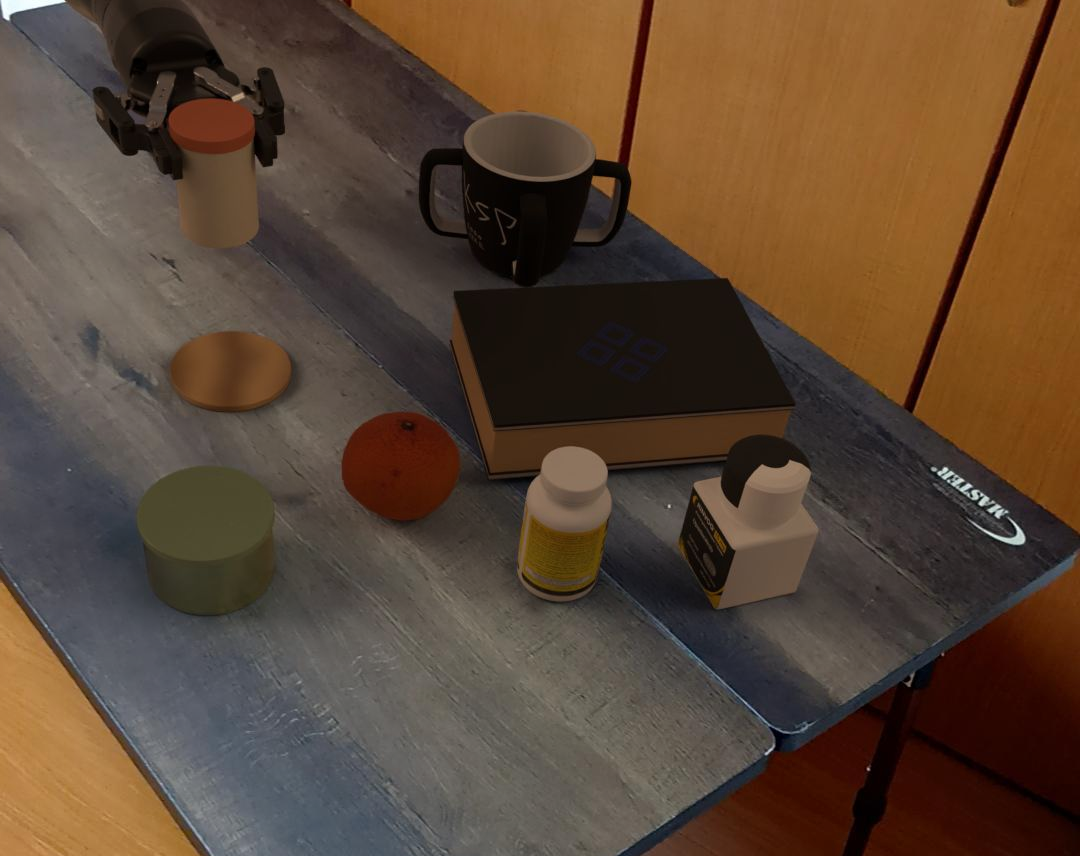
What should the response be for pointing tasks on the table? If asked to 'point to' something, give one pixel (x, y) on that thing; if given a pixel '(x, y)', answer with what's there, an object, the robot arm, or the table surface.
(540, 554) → the pill bottle
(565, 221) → the mug
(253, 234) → the canister
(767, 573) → the medicine bottle
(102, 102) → the robot arm
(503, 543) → the table surface
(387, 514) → the fruit
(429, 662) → the table surface
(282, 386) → the coaster
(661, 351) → the book
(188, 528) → the tin
